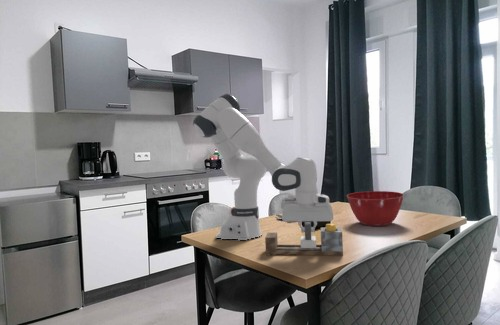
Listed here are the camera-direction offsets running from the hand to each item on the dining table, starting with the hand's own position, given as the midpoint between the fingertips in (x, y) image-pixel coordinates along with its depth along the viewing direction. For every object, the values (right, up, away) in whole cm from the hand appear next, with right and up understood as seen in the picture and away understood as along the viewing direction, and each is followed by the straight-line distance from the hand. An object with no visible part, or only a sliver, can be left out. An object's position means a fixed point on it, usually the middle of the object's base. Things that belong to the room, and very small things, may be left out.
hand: (308, 232), depth 144 cm
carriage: (0, -6, 0) cm, 6 cm away
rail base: (-2, -8, +1) cm, 8 cm away
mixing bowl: (+43, -4, +45) cm, 62 cm away
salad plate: (+2, -6, +67) cm, 67 cm away
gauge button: (+9, -1, -1) cm, 9 cm away
